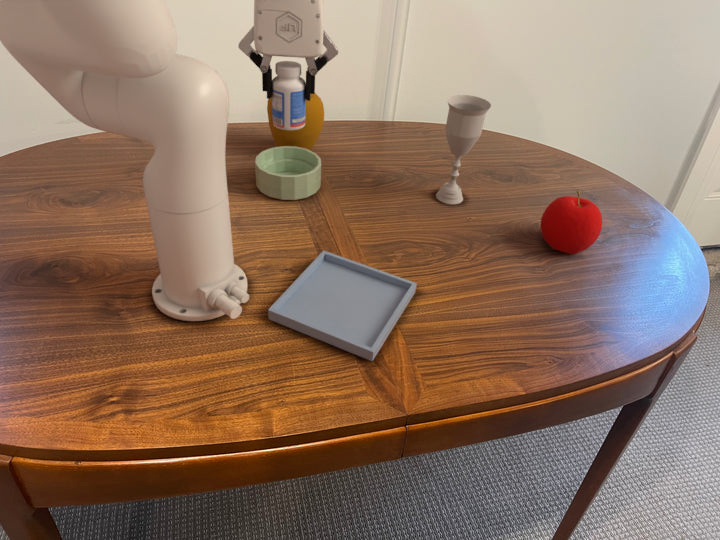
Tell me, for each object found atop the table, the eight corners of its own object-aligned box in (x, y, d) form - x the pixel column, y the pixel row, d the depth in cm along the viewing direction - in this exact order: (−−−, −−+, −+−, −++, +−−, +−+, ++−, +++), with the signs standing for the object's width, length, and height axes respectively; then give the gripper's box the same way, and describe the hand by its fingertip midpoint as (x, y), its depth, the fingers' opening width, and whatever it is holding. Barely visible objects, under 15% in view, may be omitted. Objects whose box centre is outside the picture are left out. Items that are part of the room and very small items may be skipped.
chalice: (438, 208, 96) (457, 111, 85) (424, 189, 101) (440, 95, 90) (475, 205, 98) (498, 110, 87) (460, 186, 103) (480, 94, 92)
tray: (415, 292, 77) (417, 283, 76) (372, 361, 66) (373, 352, 65) (323, 259, 82) (323, 250, 81) (268, 319, 71) (267, 309, 70)
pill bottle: (305, 119, 91) (307, 60, 85) (304, 132, 87) (306, 71, 81) (273, 117, 91) (272, 58, 85) (270, 130, 86) (269, 68, 81)
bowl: (333, 186, 99) (334, 162, 96) (287, 209, 92) (287, 183, 89) (289, 164, 105) (289, 140, 102) (243, 184, 97) (241, 159, 94)
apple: (332, 150, 111) (335, 88, 103) (301, 169, 103) (301, 104, 95) (290, 135, 115) (290, 74, 107) (257, 152, 108) (254, 88, 100)
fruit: (589, 236, 92) (610, 186, 86) (592, 267, 85) (616, 214, 79) (535, 225, 94) (552, 174, 88) (534, 254, 87) (552, 201, 81)
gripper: (223, -32, 71) (232, 102, 82) (352, -22, 73) (343, 108, 84) (229, -40, 77) (236, 86, 88) (348, -31, 79) (340, 91, 90)
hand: (288, 95), depth 86 cm, fingers closed on pill bottle, 5 cm apart
